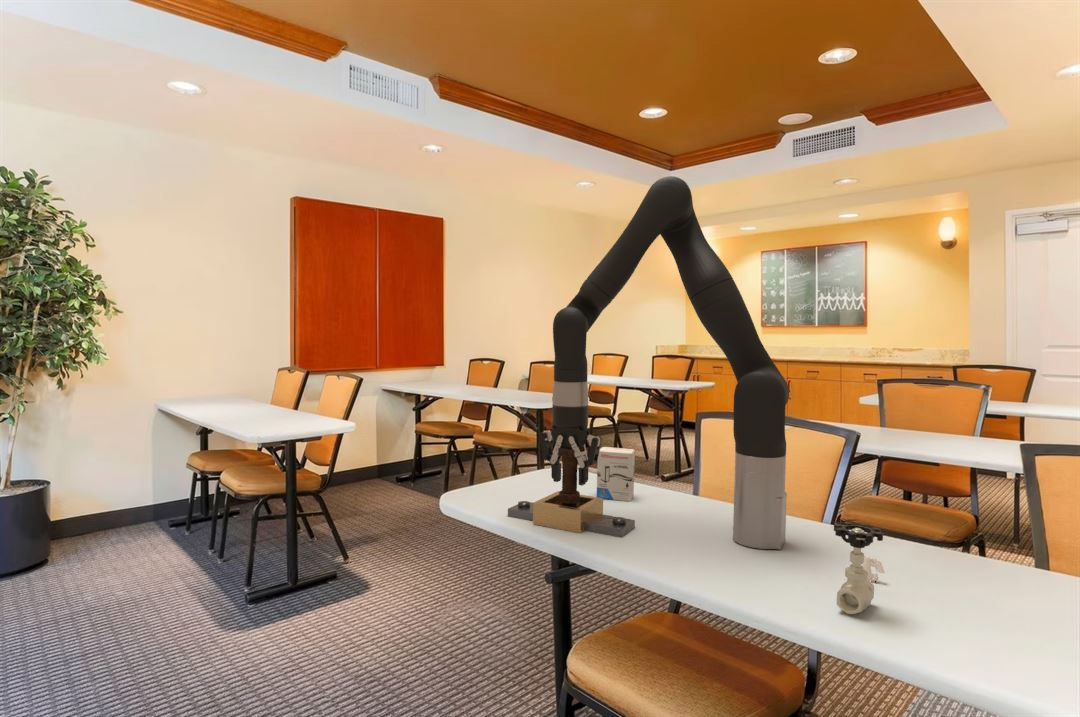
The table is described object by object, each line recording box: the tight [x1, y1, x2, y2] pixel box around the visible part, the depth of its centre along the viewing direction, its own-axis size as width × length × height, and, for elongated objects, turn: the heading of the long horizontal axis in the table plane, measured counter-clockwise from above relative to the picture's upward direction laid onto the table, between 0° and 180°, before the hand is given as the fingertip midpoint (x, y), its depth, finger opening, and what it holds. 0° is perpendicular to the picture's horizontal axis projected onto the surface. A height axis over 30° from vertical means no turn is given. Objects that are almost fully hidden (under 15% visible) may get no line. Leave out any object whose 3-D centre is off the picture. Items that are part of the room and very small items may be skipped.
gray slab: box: [507, 500, 534, 522], centre depth 137 cm, size 8×7×2 cm
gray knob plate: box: [585, 513, 636, 538], centre depth 128 cm, size 9×7×2 cm
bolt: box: [558, 447, 583, 508], centre depth 132 cm, size 6×5×15 cm
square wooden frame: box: [532, 490, 604, 534], centre depth 132 cm, size 11×11×4 cm
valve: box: [833, 521, 884, 615], centre depth 92 cm, size 7×7×12 cm
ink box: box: [596, 446, 636, 502], centre depth 151 cm, size 9×5×12 cm, turn 73°
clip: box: [861, 555, 885, 583], centre depth 103 cm, size 5×2×4 cm, turn 41°
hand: (569, 482), depth 132 cm, fingers closed on bolt, 5 cm apart
